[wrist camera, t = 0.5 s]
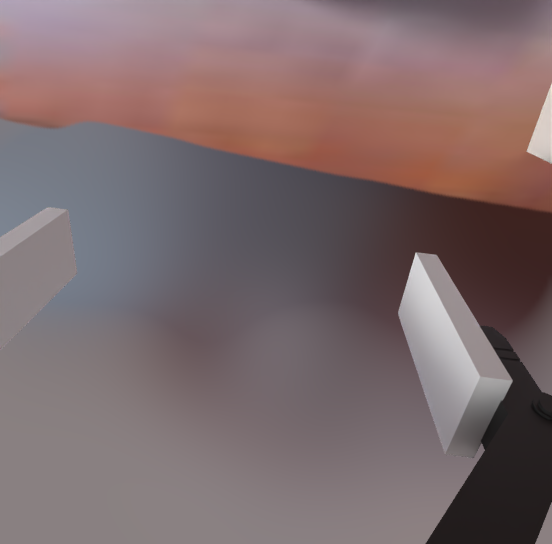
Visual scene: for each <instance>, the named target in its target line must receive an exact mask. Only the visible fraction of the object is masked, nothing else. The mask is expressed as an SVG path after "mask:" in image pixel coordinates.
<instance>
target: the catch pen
mask: <svg viewBox="0 0 552 544" xmlns="http://www.w3.org/2000/svg"><path fill="white" fill-rule="evenodd" d="M527 152H529V153H531V154H533V155H535V156H537V157H539V158H541V159H543V160H545V161H547V162H549V163H552V84H551V87H550V89H549V92H548V95H547V97H546V100H545V103H544V106H543V108H542V111H541V114H540V116H539V119H538V122H537V124H536V127H535V130H534V133H533V135H532V138H531V141H530V143H529V146H528V149H527Z"/></svg>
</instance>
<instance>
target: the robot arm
mask: <svg viewBox="0 0 552 544" xmlns="http://www.w3.org/2000/svg"><path fill="white" fill-rule="evenodd" d="M76 274H77V268H76V261H75V254H74V248H73V241H72V234H71V227H70V220H69V213H68V210H66V209H58V208H50V207H47V208H46V209H44V210H43V211H41V212H39V213H38V214H36V215H35V216H33V217H32V218H30V219H28V220H27V221H25V222H24V223H22V224H21V225H19V226H17V227H16V228H14V229H12V230H11V231H9V232H8V233H6V234H5V235H3V236H1V237H0V350H1V349H2V348H3V347H4V346H5V345H6V344H7V343H8V342H9V341H10V340H11V339H12V338H13V337H14V336H15V335H16V334H17V333H18V332H19V331H20V330H21V329H22V328H23V327H24V326H25V325H26V324H27V323H28V322H29V321H30V320H31V319H32V318H33V317H34V316H35V315H36V314H37V313H38V312H39V311H40V310H41V309H42V308H43V307H44V306H45V305H46V304H47V303H48V302H49V301H50V300H51V299H52V298H53V297H54V296H55V295H56V294H57V293H58V292H59V291H60V290H61V289H62V288H63V287H64V286H65V285H66V284H67V283H68V282H69V281H70V280H71V279H72V278H73V277H74V276H75V275H76ZM398 315H399V318H400V321H401V324H402V327H403V329H404V333H405V336H406V339H407V342H408V345H409V348H410V350H411V354H412V357H413V360H414V363H415V366H416V369H417V372H418V375H419V378H420V381H421V384H422V387H423V390H424V393H425V396H426V399H427V402H428V405H429V408H430V411H431V414H432V417H433V420H434V423H435V426H436V429H437V432H438V435H439V438H440V441H441V444H442V447H443V450H444V453H445V454H446V455H453V456H461V457H469V458H474V456H475V454H476V453H477V451H478V449H479V446H480V444H481V443H482V444H483V446H484V449H485V451H484V453H483V455H482V456H481V458H480V459H479V461H478V462H477V464H476V465H475V467H474V469H473V470H472V472H471V473H470V475H469V476H468V478H467V480H466V481H465V483H464V484H463V486H462V488H461V489H460V491H459V492H458V494H457V495H456V497H455V499H454V500H453V502H452V503H451V505H450V506H449V508H448V509H447V511H446V513H445V514H444V516H443V517H442V519H441V520H440V522H439V524H438V525H437V527H436V528H435V530H434V531H433V533H432V535H431V536H430V538H429V539H428V541H427V543H426V544H535V542H536V540H537V538H538V535H539V533H540V530H541V527H542V525H543V522H544V520H545V517H546V515H547V512H548V510H549V507H550V505H551V502H552V396H551V395H549V394H546V393H543V392H541V390H540V389H539V387H538V386H537V384H536V383H535V381H534V380H533V378H532V377H531V375H530V374H529V372H528V371H527V369H526V368H525V366H524V365H523V363H522V362H520V359H519V357H518V356H517V354H516V353H515V352H513V348H512V347H511V345H510V344H509V342H508V341H507V339H506V338H505V337H504V336H502V335H501V334H500V333H499V332H498V331H496V330H495V329H494V328H493V327H488V326H480V325H479V324H478V323H477V321H476V319H475V318H474V316H473V314H472V313H471V311H470V309H469V308H468V306H467V304H466V303H465V301H464V300H463V298H462V296H461V295H460V293H459V292H458V290H457V288H456V286H455V285H454V283H453V282H452V280H451V278H450V276H449V275H448V273H447V271H446V270H445V268H444V267H443V265H442V263H441V262H440V260H439V258H438V257H437V255H432V254H424V253H416V254H415V258H414V261H413V264H412V268H411V271H410V274H409V278H408V281H407V285H406V288H405V292H404V295H403V298H402V301H401V305H400V308H399V312H398Z"/></svg>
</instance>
